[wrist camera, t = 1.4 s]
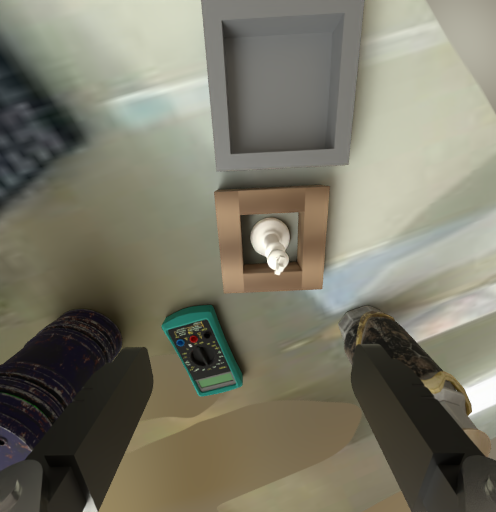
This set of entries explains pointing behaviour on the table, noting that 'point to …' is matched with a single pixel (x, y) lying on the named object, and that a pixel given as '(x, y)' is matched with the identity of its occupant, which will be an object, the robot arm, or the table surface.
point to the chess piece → (271, 242)
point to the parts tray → (282, 81)
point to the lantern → (411, 363)
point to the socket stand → (265, 202)
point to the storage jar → (50, 377)
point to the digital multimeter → (203, 349)
